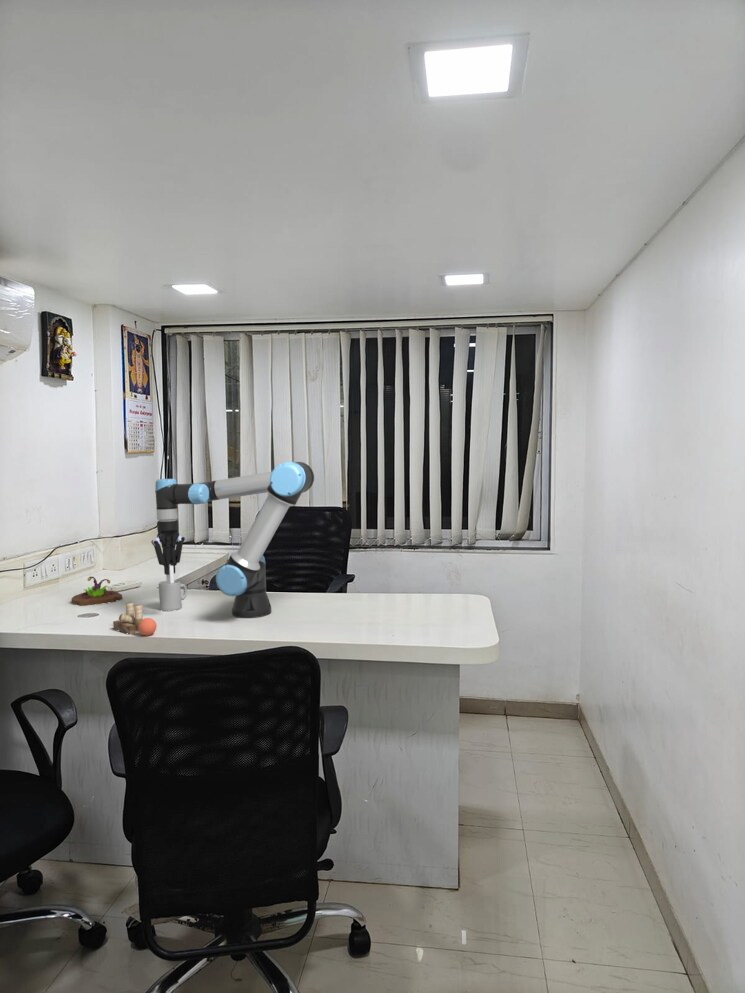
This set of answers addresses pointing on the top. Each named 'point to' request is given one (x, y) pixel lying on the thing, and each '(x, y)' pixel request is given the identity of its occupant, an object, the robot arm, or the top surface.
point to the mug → (171, 595)
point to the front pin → (127, 619)
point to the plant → (96, 595)
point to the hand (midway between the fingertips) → (170, 582)
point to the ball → (147, 626)
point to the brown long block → (124, 627)
